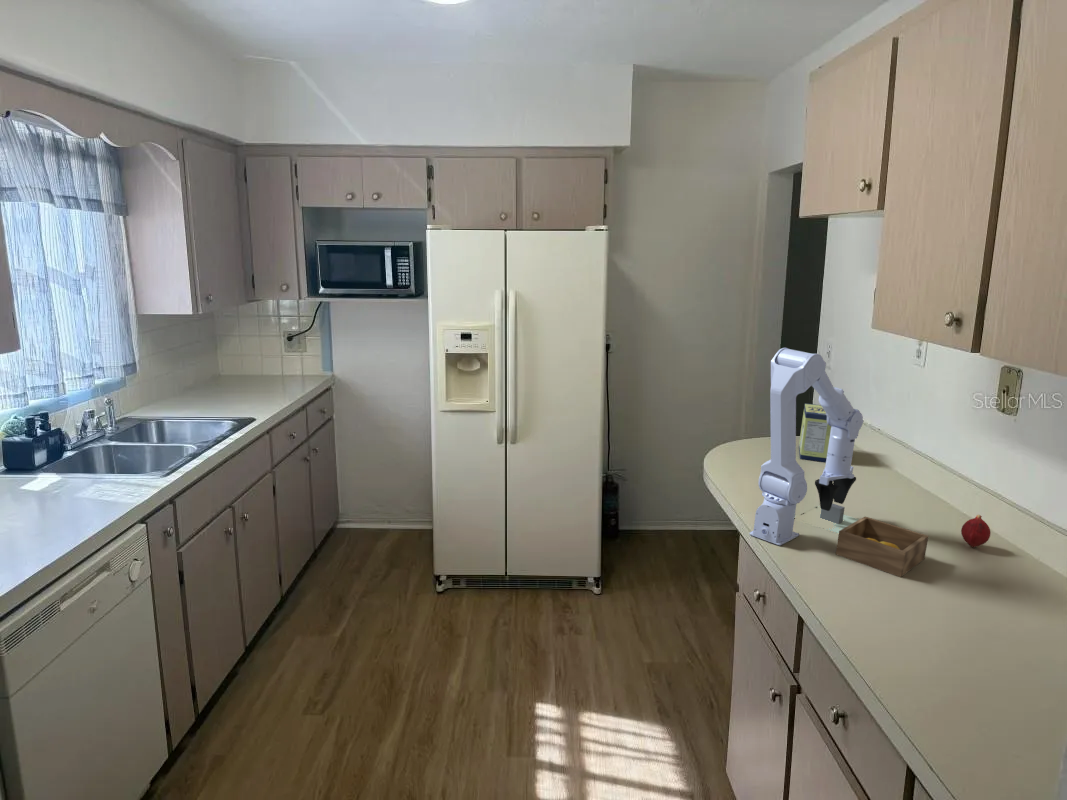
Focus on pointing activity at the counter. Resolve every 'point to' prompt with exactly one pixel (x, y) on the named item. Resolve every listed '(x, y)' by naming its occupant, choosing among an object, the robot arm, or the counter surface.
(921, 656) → the counter surface
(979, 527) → the onion
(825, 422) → the protein box
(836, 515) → the lid
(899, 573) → the box
